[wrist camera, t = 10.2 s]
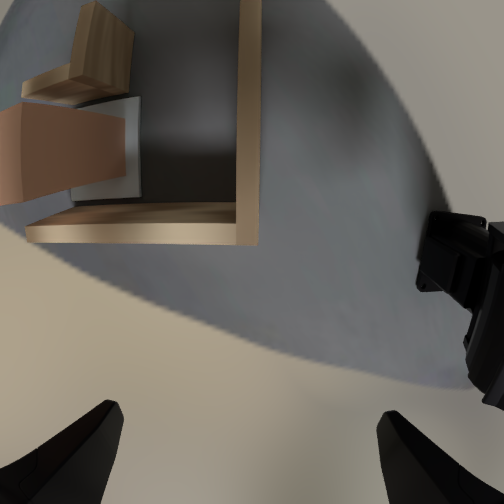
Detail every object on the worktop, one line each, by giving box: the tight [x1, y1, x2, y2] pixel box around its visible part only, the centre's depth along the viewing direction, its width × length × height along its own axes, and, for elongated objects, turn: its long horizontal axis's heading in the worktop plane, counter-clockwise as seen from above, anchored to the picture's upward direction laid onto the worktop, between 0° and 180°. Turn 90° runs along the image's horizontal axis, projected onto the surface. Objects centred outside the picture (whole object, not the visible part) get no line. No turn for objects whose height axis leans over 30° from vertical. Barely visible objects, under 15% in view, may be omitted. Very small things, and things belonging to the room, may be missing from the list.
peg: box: [0, 102, 126, 206], centre depth 12 cm, size 4×4×10 cm
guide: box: [21, 0, 262, 245], centre depth 14 cm, size 14×14×6 cm
